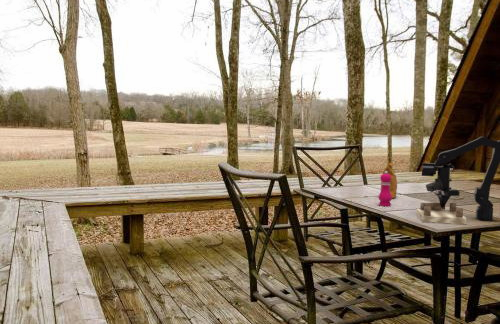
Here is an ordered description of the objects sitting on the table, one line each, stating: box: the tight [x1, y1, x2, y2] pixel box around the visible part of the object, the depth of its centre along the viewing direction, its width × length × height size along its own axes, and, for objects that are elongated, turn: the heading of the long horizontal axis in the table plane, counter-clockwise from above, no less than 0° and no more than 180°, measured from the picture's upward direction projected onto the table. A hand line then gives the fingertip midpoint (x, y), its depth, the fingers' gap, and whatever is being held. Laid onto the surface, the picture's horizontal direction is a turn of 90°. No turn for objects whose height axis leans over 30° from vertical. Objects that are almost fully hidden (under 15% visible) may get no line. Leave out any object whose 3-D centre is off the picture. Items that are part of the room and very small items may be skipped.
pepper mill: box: [378, 171, 393, 207], centre depth 239 cm, size 7×7×20 cm
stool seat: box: [416, 202, 467, 225], centre depth 205 cm, size 19×19×7 cm
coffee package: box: [380, 162, 398, 199], centre depth 266 cm, size 10×12×22 cm
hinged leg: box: [419, 202, 446, 210], centre depth 214 cm, size 12×3×3 cm, turn 95°
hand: (442, 207), depth 211 cm, fingers closed
